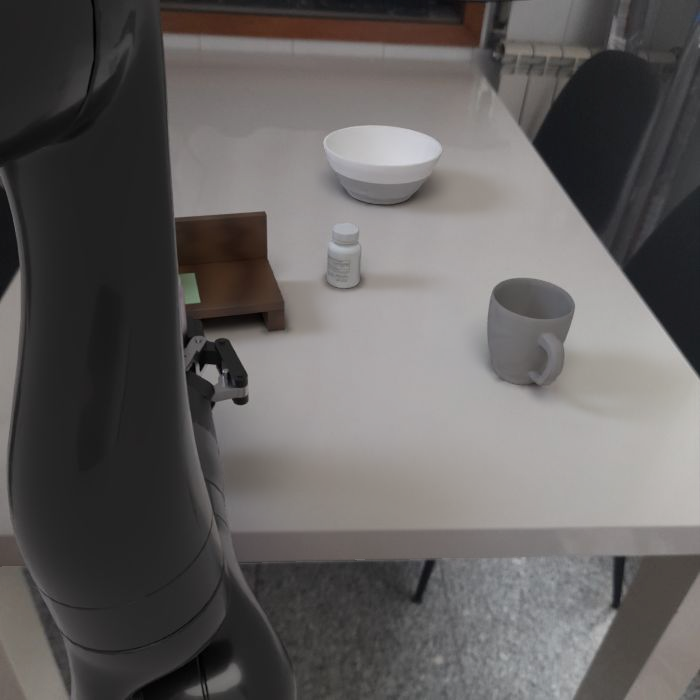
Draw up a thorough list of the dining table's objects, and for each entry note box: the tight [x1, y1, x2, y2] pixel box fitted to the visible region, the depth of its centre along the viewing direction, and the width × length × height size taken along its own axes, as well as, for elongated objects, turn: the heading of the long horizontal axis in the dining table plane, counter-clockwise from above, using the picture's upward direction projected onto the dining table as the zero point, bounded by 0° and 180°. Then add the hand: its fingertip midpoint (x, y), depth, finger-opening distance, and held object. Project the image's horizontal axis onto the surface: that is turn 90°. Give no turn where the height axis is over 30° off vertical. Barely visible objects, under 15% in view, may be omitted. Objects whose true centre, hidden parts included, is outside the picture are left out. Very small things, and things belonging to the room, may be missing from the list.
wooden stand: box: [175, 210, 286, 332], centre depth 85 cm, size 20×12×10 cm, turn 106°
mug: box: [486, 277, 576, 386], centre depth 77 cm, size 12×9×10 cm
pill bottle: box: [326, 222, 362, 289], centre depth 94 cm, size 4×4×8 cm
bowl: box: [322, 124, 443, 205], centre depth 119 cm, size 20×20×8 cm
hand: (149, 328), depth 61 cm, fingers closed on beverage can, 6 cm apart
